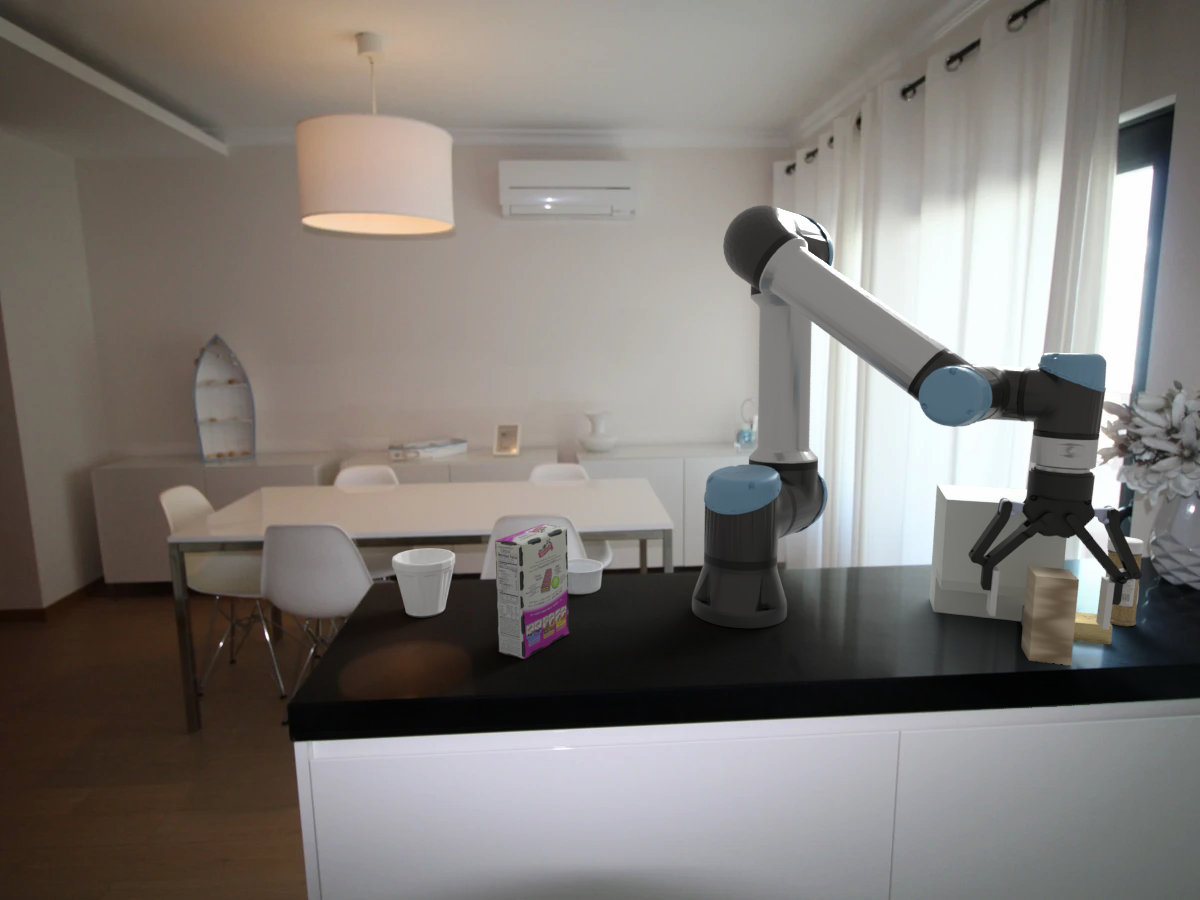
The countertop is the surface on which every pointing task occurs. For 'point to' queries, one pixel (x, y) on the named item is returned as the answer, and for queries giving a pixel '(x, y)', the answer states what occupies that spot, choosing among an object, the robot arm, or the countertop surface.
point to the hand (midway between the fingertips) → (1045, 619)
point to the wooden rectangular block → (1049, 615)
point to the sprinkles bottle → (1126, 586)
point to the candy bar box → (532, 589)
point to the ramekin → (584, 576)
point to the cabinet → (957, 532)
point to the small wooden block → (1090, 629)
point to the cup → (424, 580)
